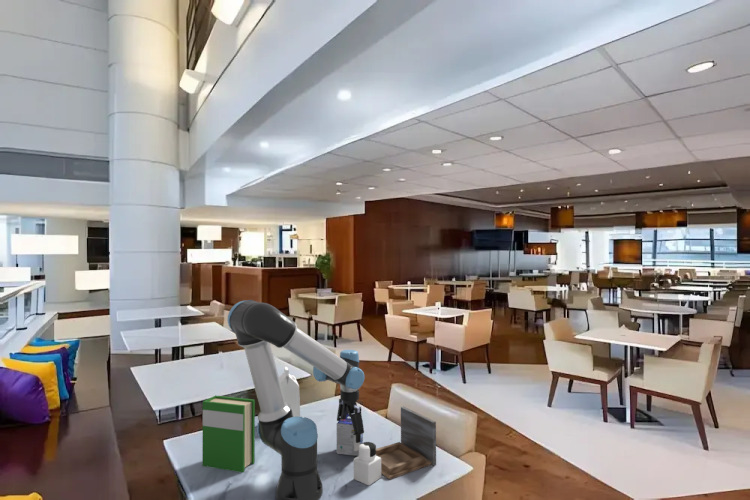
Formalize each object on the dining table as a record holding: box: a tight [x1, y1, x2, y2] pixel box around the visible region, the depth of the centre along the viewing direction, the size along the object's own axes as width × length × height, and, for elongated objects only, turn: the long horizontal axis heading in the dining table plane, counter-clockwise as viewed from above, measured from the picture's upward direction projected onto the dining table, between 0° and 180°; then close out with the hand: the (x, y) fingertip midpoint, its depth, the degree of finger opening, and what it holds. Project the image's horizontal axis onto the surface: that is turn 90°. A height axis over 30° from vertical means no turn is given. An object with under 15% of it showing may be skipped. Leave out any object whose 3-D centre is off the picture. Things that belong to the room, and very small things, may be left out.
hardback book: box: [201, 395, 256, 473], centre depth 161 cm, size 18×7×24 cm, turn 73°
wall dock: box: [376, 406, 437, 480], centre depth 163 cm, size 21×20×16 cm
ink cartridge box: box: [335, 414, 364, 457], centre depth 170 cm, size 10×6×14 cm, turn 78°
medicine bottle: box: [353, 441, 382, 486], centre depth 150 cm, size 7×7×12 cm
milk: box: [278, 366, 301, 417], centre depth 200 cm, size 12×12×26 cm
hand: (350, 445), depth 170 cm, fingers closed on ink cartridge box, 10 cm apart
